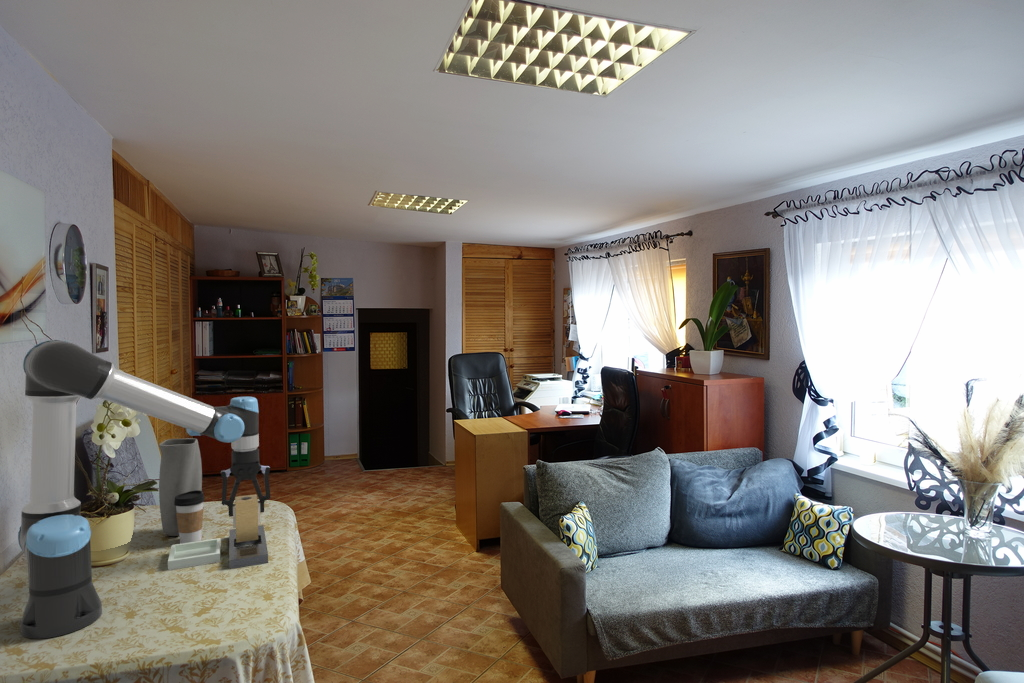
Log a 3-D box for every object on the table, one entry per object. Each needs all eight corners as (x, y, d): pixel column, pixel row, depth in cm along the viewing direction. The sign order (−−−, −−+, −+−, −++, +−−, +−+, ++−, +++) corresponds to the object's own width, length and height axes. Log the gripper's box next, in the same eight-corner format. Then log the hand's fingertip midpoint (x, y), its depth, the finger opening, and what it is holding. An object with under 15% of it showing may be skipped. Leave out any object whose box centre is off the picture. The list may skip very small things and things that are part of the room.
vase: (169, 527, 201) (166, 438, 199) (208, 525, 203) (206, 436, 201) (153, 541, 189) (149, 446, 187) (194, 538, 191) (191, 444, 189)
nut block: (258, 539, 180) (257, 499, 180) (236, 542, 178) (235, 502, 177) (257, 532, 186) (256, 494, 185) (236, 535, 183) (235, 496, 183)
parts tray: (220, 561, 173) (219, 553, 173) (168, 570, 167) (167, 561, 167) (220, 545, 185) (220, 537, 184) (172, 553, 179) (171, 545, 179)
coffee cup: (210, 540, 189) (208, 493, 188) (181, 548, 183) (179, 499, 182) (199, 534, 195) (198, 488, 194) (171, 541, 188) (169, 494, 188)
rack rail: (268, 562, 172) (268, 553, 172) (229, 569, 168) (229, 559, 168) (263, 532, 196) (263, 524, 196) (229, 537, 192) (229, 529, 191)
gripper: (278, 443, 188) (279, 516, 189) (210, 449, 180) (211, 525, 181) (280, 448, 181) (281, 524, 182) (209, 454, 173) (211, 533, 174)
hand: (246, 524), depth 181 cm, fingers closed on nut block, 6 cm apart
